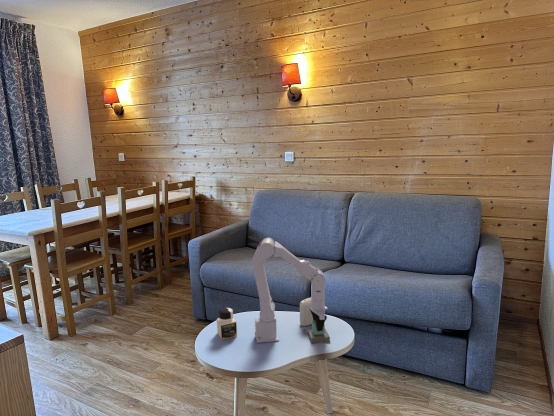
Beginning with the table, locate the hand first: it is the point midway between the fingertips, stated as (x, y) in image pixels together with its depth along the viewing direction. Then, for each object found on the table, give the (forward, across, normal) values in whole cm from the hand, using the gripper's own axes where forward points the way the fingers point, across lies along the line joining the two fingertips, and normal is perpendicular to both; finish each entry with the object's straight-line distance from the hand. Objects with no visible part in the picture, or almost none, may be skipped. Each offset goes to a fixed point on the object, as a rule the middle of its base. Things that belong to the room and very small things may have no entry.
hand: (318, 327), depth 165 cm
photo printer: (+5, +14, 0) cm, 15 cm away
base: (+4, 0, 0) cm, 4 cm away
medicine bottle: (+5, +10, +40) cm, 41 cm away
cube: (+2, 0, 0) cm, 2 cm away
